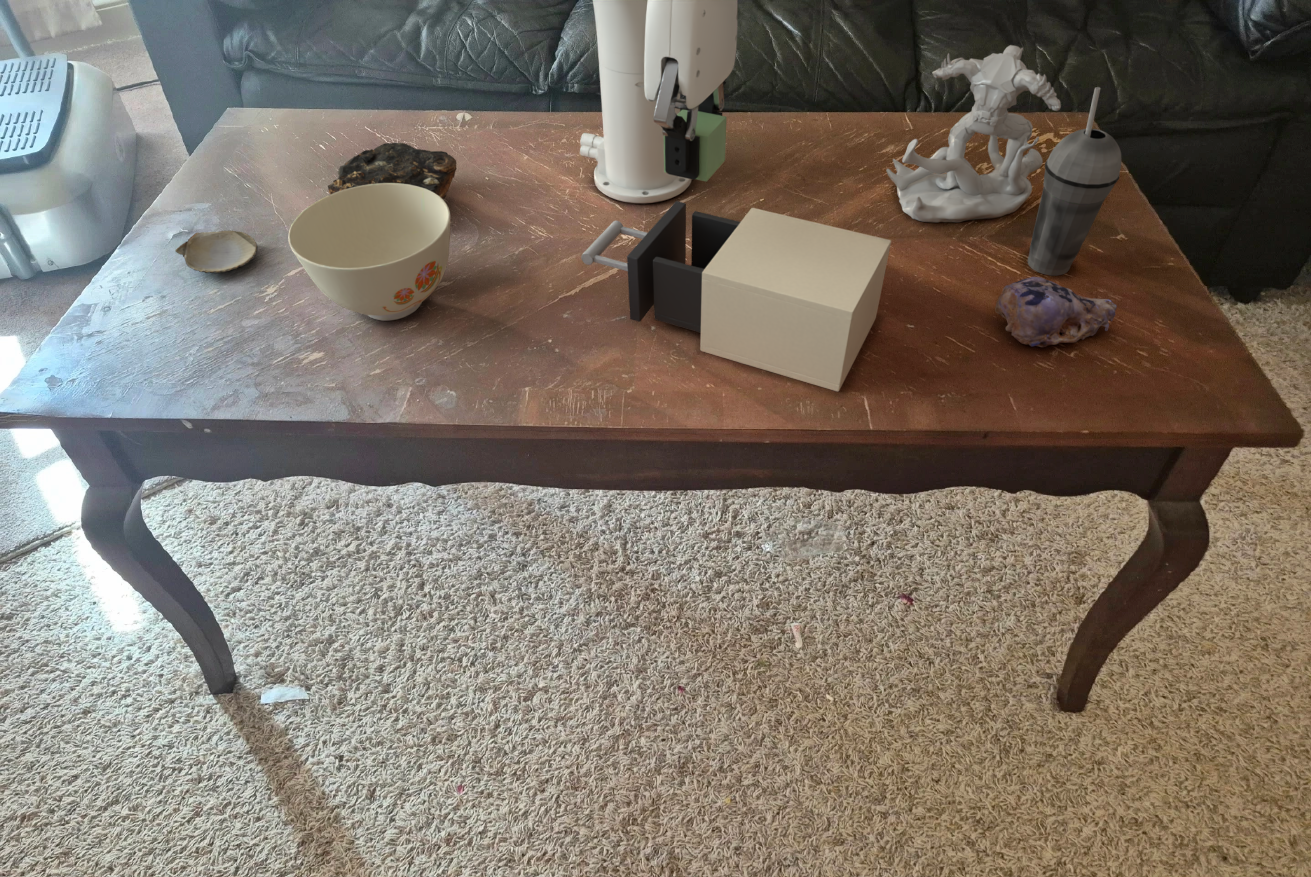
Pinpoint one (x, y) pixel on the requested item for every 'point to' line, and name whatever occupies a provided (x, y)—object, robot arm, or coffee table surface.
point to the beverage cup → (1073, 195)
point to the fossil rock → (398, 169)
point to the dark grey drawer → (667, 264)
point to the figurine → (1008, 182)
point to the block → (708, 142)
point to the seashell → (218, 251)
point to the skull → (1051, 312)
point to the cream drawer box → (792, 297)
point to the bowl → (375, 247)
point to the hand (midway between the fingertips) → (693, 161)
